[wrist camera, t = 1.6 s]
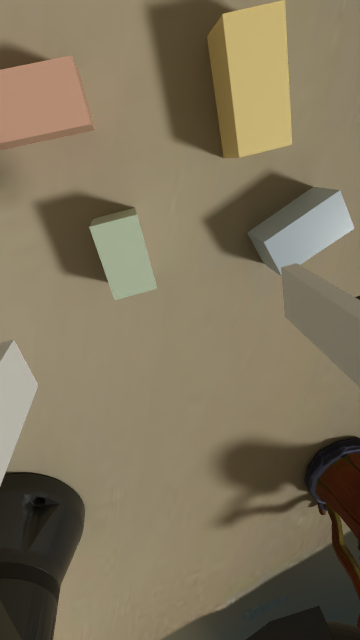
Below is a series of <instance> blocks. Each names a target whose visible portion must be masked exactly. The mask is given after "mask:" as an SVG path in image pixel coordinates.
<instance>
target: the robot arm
mask: <svg viewBox="0 0 360 640" xmlns="http://www.w3.org/2000/svg"><path fill="white" fill-rule="evenodd" d="M281 272H282V284H283V297H284V309H285V317H286V318H287V319H288V320H289V321H290V322H291V323H292V324H293V325H294V326H295V327H296V328H298V329H299V330H300V331H301V332H302V333H303V334H304V335H305V336H306V337H307V338H308V339H309V340H310V341H311V342H312V343H313V344H314V345H316V346H317V347H318V348H319V349H320V350H321V351H322V352H323V353H324V354H325V355H326V356H327V357H328V358H329V359H330V360H331V361H332V362H333V363H335V364H336V365H337V366H338V367H339V368H340V369H341V370H342V371H343V372H344V373H345V374H346V375H347V376H348V377H349V378H350V379H351V380H352V381H354V382H355V383H356V384H357V385H358V386H359V387H360V296H357V297H354V296H352V295H350V294H348V293H347V292H345V291H343V290H342V289H340V288H338V287H336V286H335V285H333V284H331V283H329V282H328V281H326V280H324V279H323V278H321V277H319V276H317V275H316V274H314V273H312V272H310V271H309V270H307V269H305V268H304V267H302V266H300V265H298V264H297V263H295V264H291V265H288V266H284V267H281ZM37 387H38V384H37V382H36V380H35V378H34V376H33V375H32V373H31V371H30V369H29V367H28V365H27V363H26V361H25V360H24V358H23V356H22V354H21V352H20V350H19V348H18V346H17V345H16V343H15V341H14V340H10V341H7V342H3V343H0V640H53V636H54V629H55V622H56V615H57V606H58V600H59V593H60V587H61V583H62V581H63V578H64V576H65V574H66V572H67V569H68V567H69V565H70V562H71V560H72V558H73V555H74V553H75V550H76V548H77V545H78V543H79V541H80V539H81V536H82V533H83V527H84V517H85V507H84V504H83V501H82V499H81V498H80V496H79V495H78V494H77V492H76V491H74V490H73V489H72V488H71V487H70V486H68V485H66V484H65V483H63V482H61V481H59V480H56V479H54V478H50V477H47V476H42V475H37V474H8V475H5V472H6V470H7V467H8V464H9V462H10V459H11V456H12V454H13V451H14V448H15V446H16V443H17V440H18V438H19V435H20V432H21V430H22V427H23V424H24V422H25V419H26V416H27V414H28V411H29V408H30V406H31V403H32V400H33V398H34V395H35V392H36V390H37ZM246 640H360V628H357V627H354V626H351V625H347V624H342V623H337V622H326V620H325V618H324V616H323V613H322V611H321V609H320V607H319V606H317V607H314V608H310V609H307V610H304V611H301V612H298V613H295V614H292V615H289V616H286V617H282V618H279V619H276V620H273V621H270V622H269V623H267V624H266V625H265V626H263V627H262V628H261V629H260V630H258V631H257V632H256V633H254V634H253V635H252V636H250V637H249V638H248V639H246Z"/></svg>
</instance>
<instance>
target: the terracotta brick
mask: <svg viewBox="0 0 360 640" xmlns="http://www.w3.org/2000/svg"><path fill="white" fill-rule="evenodd" d="M92 130H95V128H94V124H93V120H92V117H91V113H90V110H89V106H88V102H87V99H86V95H85V91H84V88H83V84H82V80H81V77H80V73H79V71H78V68H77V66H76V64H75V62H74V60H73V57H72V55H71V56H66V57H61V58H56V59H51V60H46V61H41V62H36V63H31V64H26V65H21V66H16V67H11V68H6V69H1V70H0V149H2V150H4V149H8V148H13V147H17V146H22V145H27V144H31V143H36V142H41V141H45V140H50V139H55V138H59V137H64V136H68V135H73V134H78V133H82V132H87V131H92Z"/></svg>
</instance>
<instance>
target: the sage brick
mask: <svg viewBox="0 0 360 640" xmlns="http://www.w3.org/2000/svg"><path fill="white" fill-rule="evenodd" d="M89 228H90V231H91V234H92V237H93V239H94V242H95V245H96V248H97V251H98V254H99V257H100V260H101V263H102V265H103V268H104V271H105V274H106V277H107V280H108V283H109V286H110V289H111V291H112V294H113V297H114V300H117V299H121V298H125V297H128V296H132V295H136V294H139V293H143V292H147V291H151V290H154V289H157V286H156V282H155V278H154V275H153V271H152V267H151V264H150V260H149V256H148V253H147V249H146V246H145V242H144V238H143V235H142V231H141V227H140V224H139V220H138V216H137V213H136V210H135V208H132V209H128V210H124V211H120V212H116V213H112V214H109V215H105V216H101V217H97V218H93V220H92V222H91V224H90V226H89Z"/></svg>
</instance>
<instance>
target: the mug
mask: <svg viewBox="0 0 360 640" xmlns="http://www.w3.org/2000/svg"><path fill="white" fill-rule="evenodd" d="M305 484H306V486H307V488H308V490H309V491H310V493H311V494H312V495H313V497H314V498H315V499H316V501H317V502H318V508H319V512H320V514H321V515H325V513H326V511H328V513H329V515H330V518H331V521H332V543H333V548H334V550H335V552H336V555H337V557H338V559H339V561H340V562H341V563H342V565H343V566H344V568H345V570H346V571H347V573H348V574H349V576H350V578H351V580H352V582H353V585H354V587H355V589H356V592H357V594H358V597H359V599H360V568H359V566H358V564H357V563H356V561H355V559H354V557H353V556H352V554H351V553H350V551H349V550H348V548H347V547H346V545H345V542H344V538H343V532H342V525H341V520H340V517H341V518H342V519H343V520H344V522H345V523H346V524H347V525H348V527H349V528H350V529H351V530H352V532H353V533H354V535H355V536H356V538H357V539H358V544H359V545H358V549H359V550H360V438H354V439H349V440H344V441H339V442H336V443H334V444H332V445H331V446H329V447H327V448H325V449H323V450H321V451H319V453H318V454H317V455H316V456H315V458H314V459H313V460H312V461H311V463H310V464H309V465H308V469H307V473H306V477H305ZM339 516H340V517H339ZM359 559H360V557H359ZM357 626H358V628H360V615H359V618H358V624H357Z"/></svg>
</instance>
